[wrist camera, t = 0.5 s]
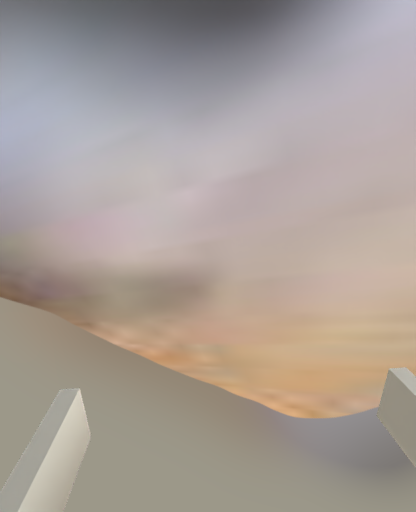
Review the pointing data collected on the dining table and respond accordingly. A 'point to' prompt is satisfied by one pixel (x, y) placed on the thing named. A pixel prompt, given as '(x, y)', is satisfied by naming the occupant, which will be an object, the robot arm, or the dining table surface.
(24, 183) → the dining table surface
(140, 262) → the dining table surface
